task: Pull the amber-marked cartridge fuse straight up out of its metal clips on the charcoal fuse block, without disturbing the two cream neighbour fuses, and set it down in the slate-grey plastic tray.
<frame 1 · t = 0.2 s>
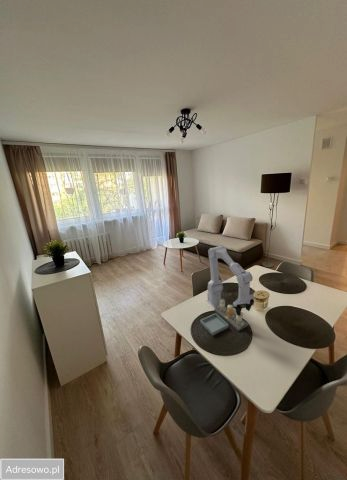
hand: (243, 312, 110), 10 cm above the table, tool pointing down, fingers open, 7 cm apart
marked fuse: (230, 315, 120), point 1 cm above the table, touching fuse block
tray: (214, 325, 115), on the table
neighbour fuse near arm: (222, 309, 127), point 1 cm above the table, touching fuse block
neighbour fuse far: (239, 322, 114), point 1 cm above the table, touching fuse block
fuse block: (230, 317, 121), on the table
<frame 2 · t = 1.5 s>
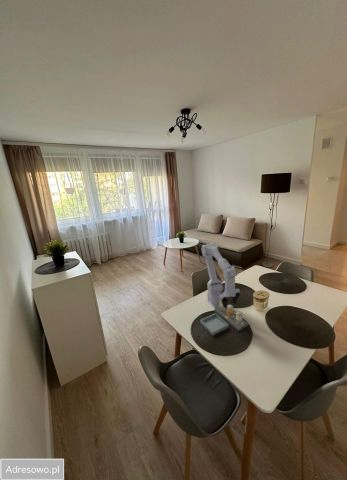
hand: (229, 305, 118), 9 cm above the table, tool pointing down, fingers open, 7 cm apart
nothing on the table moved.
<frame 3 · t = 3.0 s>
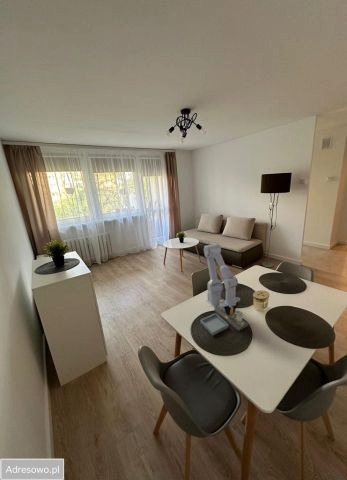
hand: (230, 313, 120), 3 cm above the table, tool pointing down, fingers closed on marked fuse, 3 cm apart
marked fuse: (230, 315, 120), point 1 cm above the table, touching fuse block, gripper
everything else where it was.
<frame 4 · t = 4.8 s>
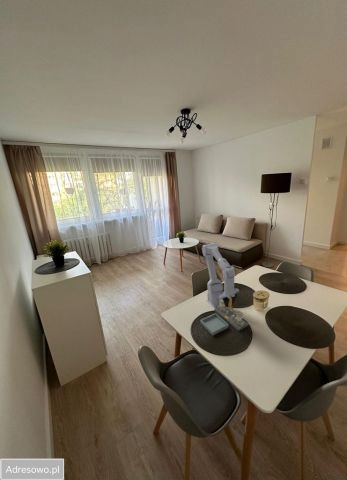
hand: (228, 305, 117), 10 cm above the table, tool pointing down, fingers closed on marked fuse, 3 cm apart
marked fuse: (228, 307, 118), point 8 cm above the table, touching gripper
everything else where it was.
when the fingers open (4 cm above the table, at t = 6.8 s): marked fuse drops 2 cm, resting on tray.
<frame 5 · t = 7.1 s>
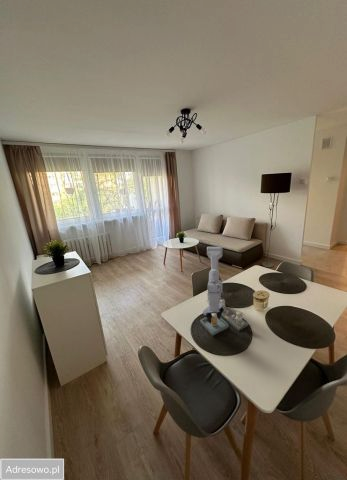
hand: (214, 320, 114), 4 cm above the table, tool pointing down, fingers open, 6 cm apart
marked fuse: (214, 324, 115), point 1 cm above the table, touching tray
everything else where it was.
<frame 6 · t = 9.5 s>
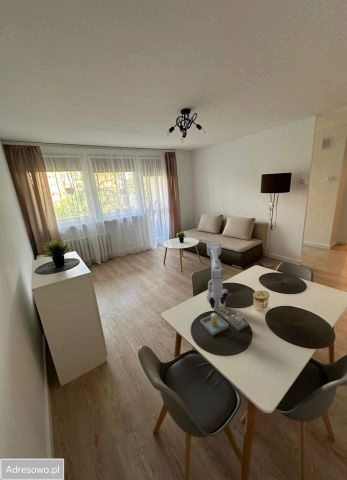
hand: (217, 305, 119), 9 cm above the table, tool pointing down, fingers open, 7 cm apart
nothing on the table moved.
at the end: marked fuse inside the target area on the tray (0.1 cm from its centre), point 0.8 cm above the tray's base; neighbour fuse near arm moved 0.0 cm from its start; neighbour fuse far moved 0.0 cm from its start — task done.
